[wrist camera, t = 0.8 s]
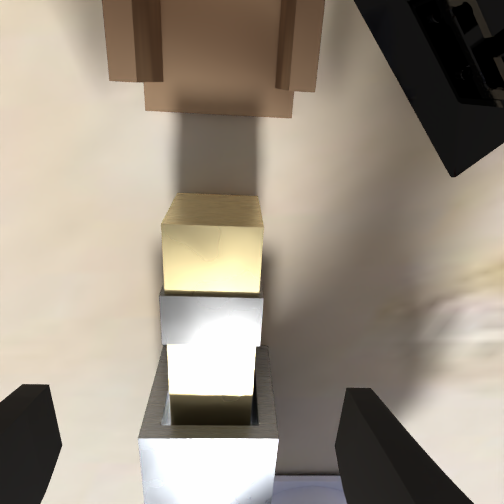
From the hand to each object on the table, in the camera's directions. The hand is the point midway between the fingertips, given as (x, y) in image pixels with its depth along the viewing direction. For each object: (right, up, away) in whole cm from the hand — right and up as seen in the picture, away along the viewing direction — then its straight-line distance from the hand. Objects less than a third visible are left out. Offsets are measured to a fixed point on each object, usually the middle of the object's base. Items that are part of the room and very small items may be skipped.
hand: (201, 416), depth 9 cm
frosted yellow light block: (-1, 0, +9) cm, 9 cm away
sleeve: (-1, -4, +11) cm, 12 cm away
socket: (0, +12, +4) cm, 12 cm away
